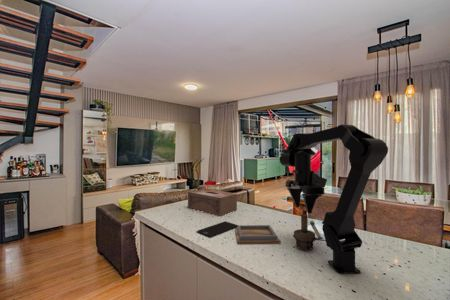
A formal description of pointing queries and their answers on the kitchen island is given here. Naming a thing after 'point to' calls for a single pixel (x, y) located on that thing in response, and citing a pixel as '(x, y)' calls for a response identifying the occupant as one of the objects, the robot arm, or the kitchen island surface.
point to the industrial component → (304, 235)
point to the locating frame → (256, 237)
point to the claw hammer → (316, 231)
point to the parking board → (256, 232)
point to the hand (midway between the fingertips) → (303, 209)
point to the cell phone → (217, 229)
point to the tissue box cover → (212, 201)
